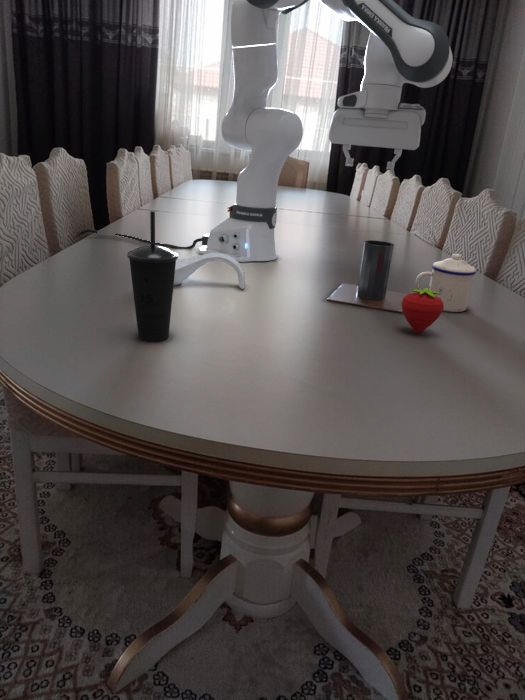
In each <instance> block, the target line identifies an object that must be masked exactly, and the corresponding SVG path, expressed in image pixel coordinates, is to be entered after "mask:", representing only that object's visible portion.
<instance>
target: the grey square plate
mask: <svg viewBox="0 0 525 700" xmlns="http://www.w3.org/2000/svg"><path fill="white" fill-rule="evenodd" d="M357 287H358V284H357V285H356V284H350V283H341V284H340V285H339V286H338V287H337V289H335V290H334V291H333V293H332V294H331V295H330V296H328V298H327V299H326V301H327V302H332V303H338V304H344V305H350V306H354V307H355V306H356V307H362V308H367V309H373V310H380V311H384V312H391V313H397V314H403V311H402V304H401V303H402V300H403V298H404V297H405V296H406V295H408V294H409V293H407V292H401V291H393V290H388V289H387V292H386V297H385V299H384V300H367V299H363V298H360V297H358V296H357Z"/></svg>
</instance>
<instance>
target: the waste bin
mask: <svg viewBox="0 0 525 700" xmlns="http://www.w3.org/2000/svg"><path fill="white" fill-rule="evenodd" d="M394 250H395V244H394V243H392V242H388V241H383V240H373V239H372V240H371V239H369V240H364V241H363V247H362V254H361V260H360V267H359V274H358V281H357V286H358V287H357V296H358V297H360V298H363V299H367V300H384V299H385V297H386V292H387V290H388V287H389V286H388V285H389V280H390V273H391V268H392V263H393V262H392V261H393V257H394V256H393V255H394Z"/></svg>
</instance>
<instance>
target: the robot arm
mask: <svg viewBox="0 0 525 700" xmlns="http://www.w3.org/2000/svg"><path fill="white" fill-rule="evenodd" d="M309 1H310V0H233V2H232V5H231V17H230V39H231V52H232V63H233V65H232V66H233V79H234V82H233V94H232V99H231V104H230V106H229V109H228V111H227V113H226V114H225V115H224V116H223V119H222V121H221V127H220V129H221V136H222V138H223V140H224V142H225V143H226V145H228V146H229V147H231V148H234V149H236V150H238V151H242V152H249V153H251V154H250V157H249V160H248V163H247V165H246V166H245V168H243V169H242V170H240V172H239V173H238V175H237V177H236V180H237V181H236V196H235V198H236V199H235V203H234V204H233V205H230V206H229V207H227V211H226V212H228V213H229V217H227V218H226V219H225V220H223V221H222V222H221V223H219V224H218V225H216V226H215V227H213V228H212V229H211V230H210V232H209V233H206V234H204V235H202V236H201V237H200V238H196V239H195V240H193V242H192V243H191V245H188V246H179V245H174V244H170V243H164V244H160V243H161V242H157V243H155V246H161V247H164V248H170V249H175V250H176V249H179V250H192V249H194V248H195V247H196V244H197V243H199V242H201V247H199V249H198V253H199V254H200V255H203V254H208V253H222V254H225V255H228V256H230V257H232V258H234V259H235V260H236V261H238V262H239V263H242V262H243V263H245V262H246V263H247V262H269V261H274V260H277V258H278V255H277V250H276V238H275V237H276V236H275V228H276V225H277V218H278V208H277V207H276V205H277V196H278V195H277V193H278V185H279V180H280V176H281V172H282V170H283V167H284V165H285V163H286V161H287V160H288V158H289V157H290V155H291V154H292V153H293V152H295V151H296V150H297V149H298V148H299V146H300V144H301V142H302V139H303V135H304V127H303V123H302V120H301V118H300V116H299V115H298V114H297V113H295V112H293V111H290V110H287V109H284V108H280V107H267V104H268V97H269V94H270V92H271V90H272V89H273V88H274V87H275V85H277V83H278V80H279V62H278V61H279V60H278V43H277V31H276V30H277V21H278V18H279V16H280V15H281V14H282V15H288V14H289V13H291V12H293V11H294V10H296V9H299V8H300V7H302V6H304V5H305V4H307V3H308V2H309ZM318 1H319V2H320V3H321V4H322V5H323V6H324V7H325V8H326V9H327V10H328V11H329V12H331V13H332V14H334V15H335V16H337V17H338V18H340V19H342V20H344V21H346V22H354V21H355V22H356V21H357V22H359V23H361V24H362V25H363V26H365V27H366V28H367V29H368V30H369V35H368V39H367V45H366V47H365V48H366V49H365V54H364V61H363V65H364V75H363V78H362V81H361V84H360V90H359V91H355V92H351V93H348V94H345V95H342V96H339V97H338V99H337V107H338V108H337V109H336V110H335V111H334V113H333V115H332V118H331V121H330V125H329V131H328V140H329V142H330V144H338V145H342V152H343V154H344V157H345V164H344V165H345V167H353V166H354V161H355V158H354V157H351V155H350V152H349V151H350V150H351V148H352V146H359V147H373V148H386V149H394V150H393V154H394V155H395V156H394V157H393V158H392V160H391V161H387V162H386V169H385V170H387V171H394V169H395V164H396V162H398V160H399V158H400V157H401V156H402V152H403V150H408V151H416V150H417V149H418V148H419V147H420V143H421V133H422V127H423V126H424V124H425V122H426V116H427V112H426V109H425V108H424V106H421V104H419V103H413V104H412V103H406V102H401V97H402V90H403V86H404V84H410V85H413V86H416V87H419V88H421V89H422V88H423V89H427V88H433V87H435V86H438V85H440V84H441V83H443V81H445V79H446V78H447V77H448V76H449V74H450V73H451V70H452V67H453V63H454V56H453V52H452V49H451V45H450V40H449V36H448V34H447V33H446V30H444V28H443V27H442V26H441V25H439V24H437V23H436V22H434V21H430V20H426V19H420V18H416V17H414V16H412V15H410V14H409V13H408V12H407V11H406V10H404V9H403V8H402V7H401V6H400V5H399V4H398V3H397V2H395V1H394V0H318ZM97 231H98V230H97V229H92V228H86V229H83V230H81V231H79V233H78V235H79V236H82V235H84V234H86V233H93V234H98V233H97ZM121 234H122V233H116V234H115V235H119V236H124V237H128V238H127V239H130V238H132V239H131V240H134V239H135V241H137V242H141V243H145V244H148V245H151V242H150V241H151V240H149V241H147V240H148V239H145V240H142V239H143V238H141V239H139V238H140V237H137V238H135V237H136V236H134V237H132V236H133V235H130V236H127V235H128V234H124V235H121ZM124 237H123V238H124Z"/></svg>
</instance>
